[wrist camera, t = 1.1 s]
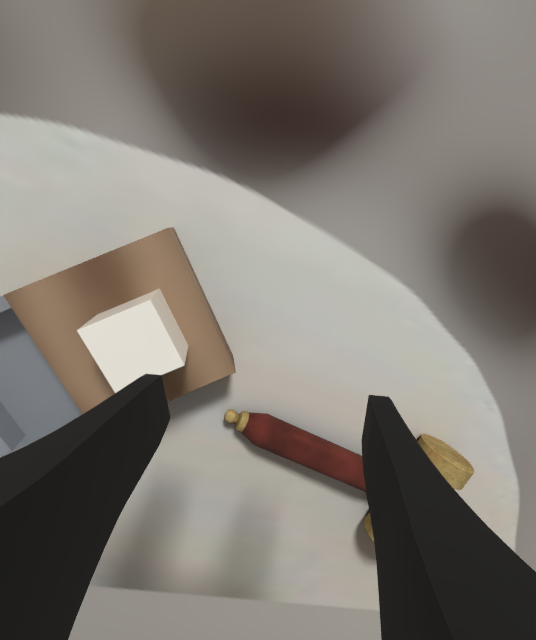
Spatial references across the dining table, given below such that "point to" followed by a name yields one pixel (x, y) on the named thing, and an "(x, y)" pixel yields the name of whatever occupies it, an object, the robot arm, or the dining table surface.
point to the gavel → (338, 452)
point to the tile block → (135, 340)
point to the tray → (27, 388)
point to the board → (111, 291)
